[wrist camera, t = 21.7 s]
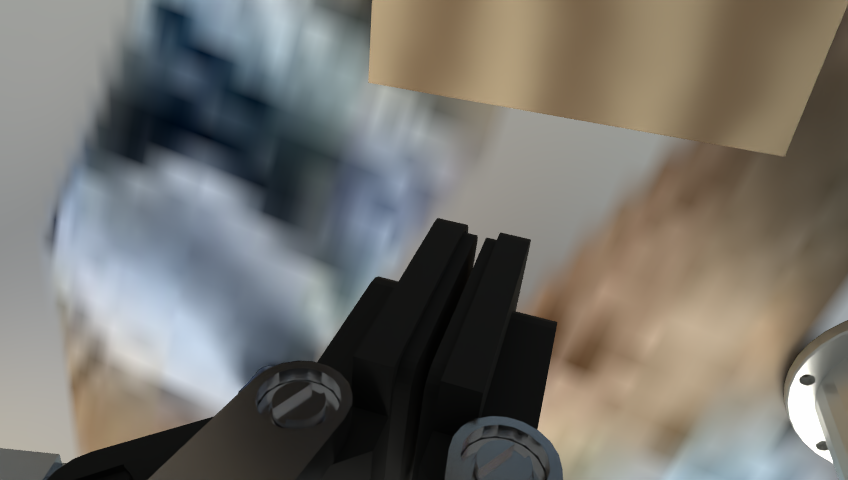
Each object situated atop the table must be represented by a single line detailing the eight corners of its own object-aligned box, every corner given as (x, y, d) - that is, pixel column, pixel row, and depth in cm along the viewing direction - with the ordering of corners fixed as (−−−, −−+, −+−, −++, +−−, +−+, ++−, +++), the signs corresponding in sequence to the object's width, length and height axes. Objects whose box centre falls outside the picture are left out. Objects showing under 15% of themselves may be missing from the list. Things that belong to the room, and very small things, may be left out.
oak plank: (835, -44, 28) (863, -33, 25) (768, 127, 32) (784, 156, 29) (403, -97, 32) (376, -93, 29) (392, 63, 36) (368, 82, 33)
